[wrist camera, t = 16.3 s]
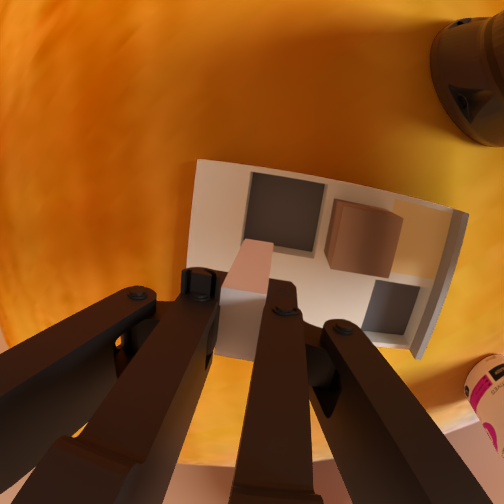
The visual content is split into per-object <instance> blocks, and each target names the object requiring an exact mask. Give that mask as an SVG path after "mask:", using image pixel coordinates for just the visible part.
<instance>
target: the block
mask: <svg viewBox="0 0 504 504" xmlns="http://www.w3.org/2000/svg"><path fill="white" fill-rule="evenodd" d="M402 224H403V218H402V217H400V216H398V215H396V214H394V213H392V212H390V211H388V210H387V209H384V208H379V207H375V206H370V205H365V204H360V203H355V202H350V201H345V200H340V199H335V198H334V201H333V206H332V212H331V217H330V222H329V227H328V232H327V237H326V242H325V247H324V254H325V256H326V259H327V261H328V264H329V266H330V269H333V270H339V271H345V272H351V273H357V274H364V275H370V276H376V277H382V278H388V279H389V275H390V272H391V268H392V264H393V261H394V257H395V253H396V249H397V245H398V241H399V237H400V232H401V228H402Z"/></svg>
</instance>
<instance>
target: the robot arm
mask: <svg viewBox="0 0 504 504" xmlns="http://www.w3.org/2000/svg"><path fill="white" fill-rule="evenodd" d="M430 68H431V75H432V79H433V83H434V86H435V89H436V92H437V94H438V97H439V99H440V101H441V103H442V105H443V107H444V108H445V110H446V112H447V113H448V115H449V116H450V118H451V119H452V120H453V121H454V123H455V124H456V125H457V126H458V127H459V128H460V129H461V130H462V131H463V132H464V133H465V134H466V135H468V136H469V137H470V138H472V139H473V140H475V141H477V142H479V143H481V144H483V145H486V146H491V147H504V10H503V11H502V12H500V13H498V14H497V15H495V16H493V17H478V18H465V19H459V20H457V21H454V22H452V23H451V24H449V25H448V26H447V27H445V28H444V29H443V30H441V31H440V32H439V33H438V35H437V36H436V38H435V39H434V42H433V44H432V48H431V53H430ZM273 245H274V243H270V242H264V241H258V240H251V239H245V240H244V242H243V244H242V246H241V248H240V250H239V252H238V254H237V256H236V258H235V260H234V262H233V264H232V266H231V268H230V270H229V272H224V271H218V270H213V269H209V268H205V267H190V268H185V269H184V270H182V276H181V293H180V295H179V296H178V297H177V299H176V300H175V301H156V296H157V294H156V293H155V291H154V290H152V289H150V288H146V287H144V286H133V287H127V288H124V289H122V290H120V291H118V292H116V293H114V294H112V295H110V296H108V297H106V298H104V299H102V300H101V301H99V302H97V303H95V304H93V305H91V306H89V307H87V308H85V309H83V310H81V311H79V312H77V313H76V314H74V315H72V316H70V317H68V318H66V319H64V320H62V321H60V322H59V323H57V324H55V325H53V326H51V327H49V328H47V329H45V330H44V331H42V332H40V333H38V334H36V335H34V336H32V337H31V338H29V339H27V340H25V341H23V342H21V343H19V344H18V345H16V346H14V347H12V348H10V349H8V350H7V351H5V352H3V353H1V354H0V494H1V493H3V492H4V491H6V490H7V489H8V488H10V487H11V486H12V485H14V484H15V483H16V482H18V481H19V480H20V479H21V478H22V477H24V476H25V475H26V474H27V473H28V472H30V471H31V470H32V469H33V468H34V467H35V469H34V470H33V472H32V473H31V475H30V476H29V478H28V479H27V480H26V482H25V483H24V485H23V486H22V488H21V489H20V491H19V492H18V494H17V495H16V497H15V498H14V500H13V501H12V503H11V504H162V503H163V500H164V497H165V494H166V491H167V488H168V485H169V483H170V480H171V477H172V474H173V471H174V469H175V466H176V463H177V460H178V457H179V454H180V452H181V449H182V446H183V443H184V440H185V437H186V435H187V432H188V429H189V426H190V423H191V420H192V417H193V415H194V412H195V409H196V406H197V403H198V400H199V398H200V395H201V392H202V389H203V386H204V383H205V381H206V378H207V375H208V372H209V369H210V366H211V364H212V357H213V350H214V347H215V353H214V354H215V355H220V356H225V357H231V358H236V359H242V360H248V361H254V364H253V370H252V375H251V381H250V387H249V393H248V399H247V405H246V410H245V416H244V421H243V427H242V433H241V438H240V444H239V449H238V454H237V460H236V465H235V471H234V476H233V481H232V486H231V492H230V497H229V502H228V504H324V503H323V499H322V497H321V495H318V494H315V492H314V489H313V470H312V469H313V468H312V442H311V422H310V405H309V399H310V402H311V404H312V407H313V409H314V411H315V414H316V416H317V419H318V421H319V423H320V426H321V428H322V431H323V433H324V435H325V438H326V440H327V443H328V445H329V447H330V450H331V452H332V455H333V457H334V459H335V462H336V464H337V467H338V469H339V471H340V474H341V476H342V479H343V481H344V483H345V486H346V488H347V491H348V493H349V495H350V498H351V500H352V502H353V504H493V503H492V501H491V500H490V498H489V497H488V496H487V494H486V492H485V491H484V490H483V488H482V487H481V485H480V484H479V482H478V481H477V480H476V478H475V477H474V475H473V474H472V473H471V471H470V470H469V468H468V467H467V466H466V464H465V463H464V462H463V460H462V459H461V457H460V456H459V455H458V453H457V452H456V451H455V449H454V448H453V446H452V445H451V444H450V442H449V441H448V440H447V438H446V437H445V436H444V434H443V433H442V432H441V430H440V429H439V428H438V426H437V425H436V424H435V422H434V421H433V420H432V418H431V417H430V416H429V414H428V413H427V412H426V410H425V409H424V408H423V407H422V405H421V404H420V403H419V401H418V400H417V399H416V397H415V396H414V395H413V394H412V392H411V391H410V390H409V388H408V387H407V386H406V385H405V383H404V382H403V381H402V379H401V378H400V377H399V376H398V374H397V373H396V372H395V371H394V369H393V368H392V367H391V365H390V364H389V363H388V362H387V360H386V359H385V358H384V357H383V355H382V354H381V353H380V352H379V350H378V349H377V348H376V347H375V345H374V344H373V343H372V342H371V340H370V339H369V338H368V337H367V336H366V334H365V333H364V332H363V331H362V329H361V328H360V327H358V326H357V325H356V324H354V323H352V322H351V321H348V320H345V319H330V320H327V321H325V323H324V325H323V328H320V327H317V326H314V325H312V324H309V323H307V322H305V321H304V320H303V314H302V312H301V310H300V309H299V308H298V302H297V289H296V286H295V285H294V284H293V283H292V282H291V281H285V280H279V279H272V278H269V275H270V268H271V260H272V253H273ZM120 336H121V344H120V345H119V346H117V347H116V345H115V342H116V340H117V339H118V338H119V337H120ZM87 422H88V423H87ZM86 423H87V425H86V426H85V428H84V429H83V431H82V432H81V433H80V434H79V435H78V436H77V437H75V438H73V437H71V436H72V435H73V434H75V433H76V432H77V431H78V430H79V429H80V428H82V427H83V426H84V425H85V424H86Z"/></svg>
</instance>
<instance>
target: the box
mask: <svg viewBox="0 0 504 504" xmlns="http://www.w3.org/2000/svg"><path fill="white" fill-rule="evenodd" d="M334 198H335V199H340V200H345V201H350V202H355V203H360V204H365V205H370V206H375V207H379V208H384V209H387V210H388V211H390V212H392V213H394V214H396V215H398V216H400V217H402V218H403V224H402V228H401V232H400V237H399V241H398V245H397V249H396V253H395V257H394V261H393V264H392V268H391V272H390V275H389V279H388V278H382V277H376V276H370V275H364V274H357V273H351V272H345V271H339V270H333V269H330V266H329V264H328V261H327V259H326V256H325V254H324V247H325V242H326V237H327V232H328V227H329V222H330V217H331V212H332V206H333V201H334ZM468 217H469V214H468V213H465V212H462V211H460V210H457V209H454V208H451V207H448V206H445V205H441V204H437V203H434V202H430V201H426V200H422V199H419V198H415V197H411V196H407V195H403V194H399V193H395V192H390V191H386V190H382V189H377V188H373V187H369V186H364V185H359V184H355V183H350V182H345V181H340V180H335V179H330V178H325V177H320V176H314V175H309V174H303V173H297V172H292V171H286V170H280V169H273V168H267V167H260V166H253V165H246V164H239V163H232V162H224V161H216V160H207V159H197V166H196V174H195V182H194V191H193V200H192V209H191V219H190V229H189V240H188V252H187V264H186V268H190V267H205V268H209V269H213V270H218V271H224V272H229V270H230V268H231V266H232V264H233V262H234V260H235V258H236V256H237V254H238V252H239V250H240V248H241V246H242V244H243V242H244V240H245V239H251V240H258V241H264V242H270V243H274V245H273V253H272V260H271V268H270V275H269V278H272V279H279V280H285V281H291V282H292V283H293V284H294V285H295V286H296V289H297V302H298V308H299V309H300V310H301V312H302V314H303V320H304V321H305V322H307V323H309V324H312V325H314V326H317V327H320V328H323V325H324V323H325V321H327V320H330V319H345V320H348V321H351V322H352V323H354V324H356V325H357V326H358V327H360V328H361V329H362V331H363V332H364V333H365V334H366V336H367V337H368V338H369V339H370V340H371V342H372V343H373V344H374V345H375V346H377V347H388V348H399V349H409V350H410V351H411V353H412V355H413V357H414V359H419V360H421V358H422V356H423V354H424V352H425V349H426V347H427V345H428V342H429V340H430V337H431V335H432V333H433V330H434V328H435V325H436V322H437V320H438V317H439V315H440V312H441V309H442V306H443V304H444V301H445V298H446V295H447V292H448V289H449V286H450V283H451V280H452V277H453V274H454V270H455V267H456V264H457V260H458V257H459V253H460V250H461V246H462V242H463V238H464V234H465V230H466V226H467V222H468Z"/></svg>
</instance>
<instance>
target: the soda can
mask: <svg viewBox="0 0 504 504" xmlns="http://www.w3.org/2000/svg"><path fill="white" fill-rule="evenodd" d="M464 394H465V396H466V398H467V399H468V401H469V403H470V404H471V406H472V408H473V409H474V411H475V413H476V414H477V416H478V418H479V420H480V421H481V423H482V425H483V427H484V428H485V430H486V432H487V434H488V436H489V437H490V439H491V441H492V443H493V445H494V447H495V449H496V450H497V452H498V454H499V456H500V457H502V458H504V356H503V355H501V354H495V355H491V356H489V357H486V358H484V359H483V360H481V361H480V362H478V363H477V364H476V365H475V366H474V368H473V369H472V370H471V371H470V373H469V374H468V376H467V379H466V382H465V384H464Z"/></svg>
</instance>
